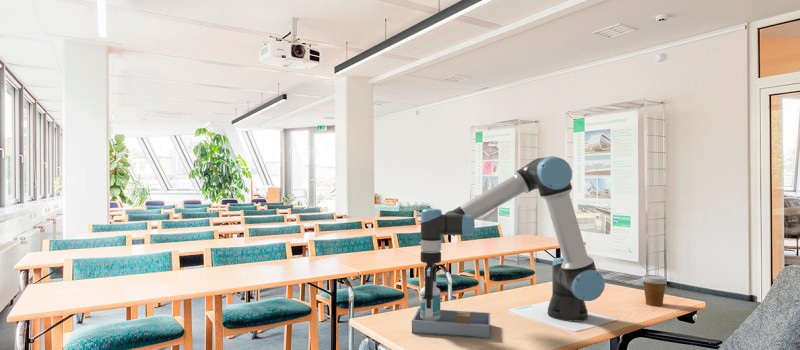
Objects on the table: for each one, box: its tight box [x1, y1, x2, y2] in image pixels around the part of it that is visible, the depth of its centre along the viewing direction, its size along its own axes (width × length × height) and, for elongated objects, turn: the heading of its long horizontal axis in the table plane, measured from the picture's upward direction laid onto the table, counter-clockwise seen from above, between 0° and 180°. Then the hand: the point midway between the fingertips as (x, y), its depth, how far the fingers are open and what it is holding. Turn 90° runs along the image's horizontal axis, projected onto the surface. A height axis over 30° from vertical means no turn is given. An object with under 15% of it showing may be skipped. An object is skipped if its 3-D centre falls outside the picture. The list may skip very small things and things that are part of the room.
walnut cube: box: [456, 310, 471, 324], centre depth 168 cm, size 5×5×5 cm
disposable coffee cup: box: [641, 274, 668, 307], centre depth 203 cm, size 10×10×12 cm
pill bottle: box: [419, 280, 441, 321], centre depth 170 cm, size 8×7×14 cm
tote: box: [411, 307, 491, 340], centre depth 169 cm, size 27×15×4 cm, turn 79°
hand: (430, 313), depth 170 cm, fingers closed on pill bottle, 7 cm apart
